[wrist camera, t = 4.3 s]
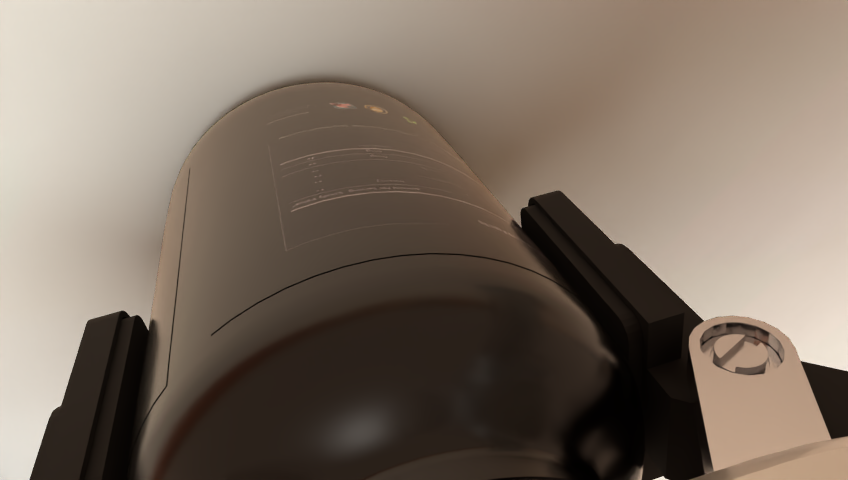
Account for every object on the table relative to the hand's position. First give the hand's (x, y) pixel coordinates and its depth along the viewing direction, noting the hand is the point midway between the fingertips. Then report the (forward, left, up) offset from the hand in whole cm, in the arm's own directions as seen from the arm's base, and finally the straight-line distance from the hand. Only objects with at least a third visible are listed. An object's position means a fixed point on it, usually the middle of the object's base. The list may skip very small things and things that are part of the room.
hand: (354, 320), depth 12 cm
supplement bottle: (0, 0, -5) cm, 5 cm away
